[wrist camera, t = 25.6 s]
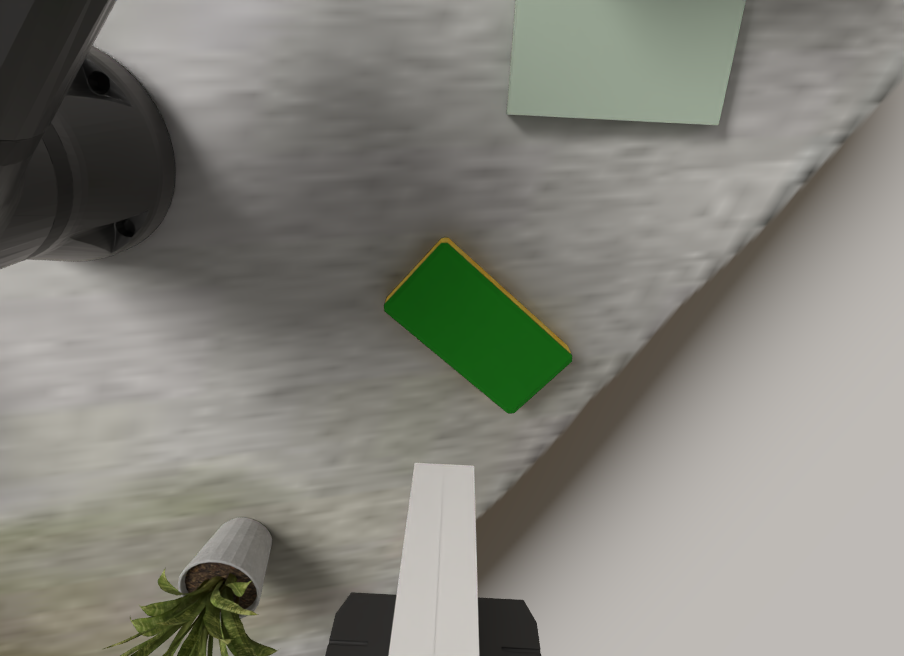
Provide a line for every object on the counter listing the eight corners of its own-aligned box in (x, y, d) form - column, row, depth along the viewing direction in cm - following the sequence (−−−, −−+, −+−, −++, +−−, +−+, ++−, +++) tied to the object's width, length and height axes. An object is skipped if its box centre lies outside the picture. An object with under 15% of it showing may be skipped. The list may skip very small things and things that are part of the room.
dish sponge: (444, 233, 42) (443, 240, 39) (569, 346, 45) (575, 359, 43) (384, 298, 44) (380, 308, 42) (508, 401, 47) (510, 416, 45)
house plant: (182, 599, 56) (79, 782, 41) (141, 490, 51) (6, 654, 36) (319, 592, 56) (265, 776, 40) (292, 481, 50) (218, 644, 35)
